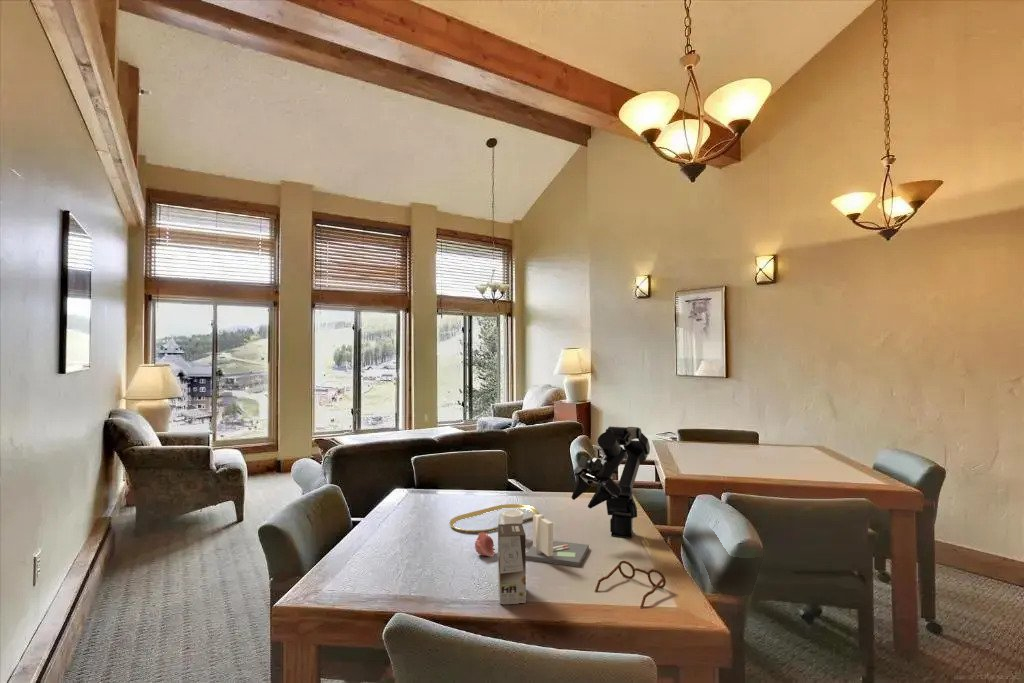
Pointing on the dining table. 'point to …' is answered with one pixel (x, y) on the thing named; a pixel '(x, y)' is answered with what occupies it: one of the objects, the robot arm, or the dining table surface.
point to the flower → (484, 545)
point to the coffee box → (511, 563)
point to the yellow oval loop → (489, 511)
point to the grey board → (561, 554)
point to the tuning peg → (543, 535)
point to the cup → (511, 517)
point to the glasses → (633, 576)
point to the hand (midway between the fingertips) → (580, 503)
